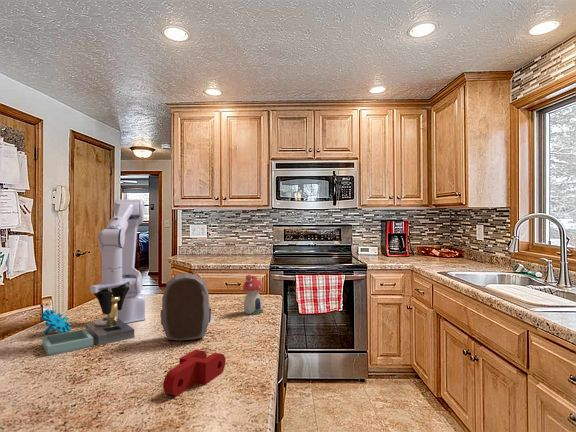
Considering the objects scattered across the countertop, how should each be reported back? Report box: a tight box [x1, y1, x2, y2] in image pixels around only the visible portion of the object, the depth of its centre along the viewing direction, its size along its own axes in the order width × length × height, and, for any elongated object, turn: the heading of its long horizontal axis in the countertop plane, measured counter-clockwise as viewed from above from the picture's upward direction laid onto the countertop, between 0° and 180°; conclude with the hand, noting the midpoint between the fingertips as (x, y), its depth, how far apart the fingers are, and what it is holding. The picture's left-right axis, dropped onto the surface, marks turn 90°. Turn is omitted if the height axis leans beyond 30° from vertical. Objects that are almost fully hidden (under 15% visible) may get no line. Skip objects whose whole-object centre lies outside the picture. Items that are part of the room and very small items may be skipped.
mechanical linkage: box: [162, 349, 226, 397], centre depth 82 cm, size 16×7×5 cm, turn 157°
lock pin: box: [106, 295, 120, 326], centre depth 113 cm, size 4×4×8 cm
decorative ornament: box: [242, 274, 264, 316], centre depth 141 cm, size 9×6×15 cm
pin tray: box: [41, 328, 94, 357], centre depth 105 cm, size 11×11×2 cm
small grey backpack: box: [160, 272, 213, 341], centre depth 112 cm, size 15×8×20 cm, turn 99°
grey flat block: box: [85, 316, 135, 346], centre depth 115 cm, size 10×16×4 cm, turn 41°
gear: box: [41, 309, 72, 335], centre depth 117 cm, size 11×6×10 cm
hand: (112, 311), depth 113 cm, fingers closed on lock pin, 4 cm apart
